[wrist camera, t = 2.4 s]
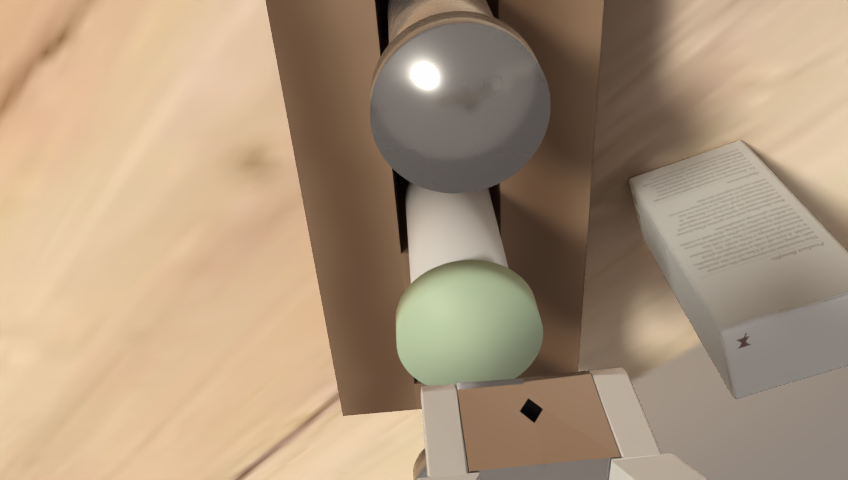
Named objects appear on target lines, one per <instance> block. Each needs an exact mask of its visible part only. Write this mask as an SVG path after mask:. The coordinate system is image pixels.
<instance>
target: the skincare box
mask: <svg viewBox="0 0 848 480" xmlns="http://www.w3.org/2000/svg"><path fill="white" fill-rule="evenodd" d="M629 184H630V188H631V192H632V196H633V201H634V205H635V209H636V213H637V216H638V220H639V224H640V228H641V232H642V237H643V240H644V242H645V243H646V245H647V247H648V249H649V250H650V252H651V254H652V256H653V257H654V259H655V261H656V263H657V265H658V267H659V268H660V270H661V272H662V274H663V275H664V277H665V279H666V280H667V282H668V284H669V286H670V288H671V289H672V291H673V293H674V295H675V296H676V298H677V300H678V302H679V303H680V305H681V307H682V309H683V310H684V312H685V314H686V316H687V317H688V319H689V321H690V323H691V324H692V326H693V328H694V330H695V331H696V333H697V335H698V337H699V339H700V340H701V342H702V344H703V346H704V347H705V349H706V351H707V353H708V354H709V356H710V358H711V360H712V361H713V363H714V365H715V366H716V368H717V370H718V372H719V373H720V375H721V377H722V379H723V381H724V383H725V384H726V386H727V388H728V390H729V391H730V393H731V395H732V396H733V397H734V398H735V399H739V398H742V397H745V396H748V395H752V394H755V393H758V392H761V391H764V390H767V389H770V388H774V387H777V386H781V385H784V384H787V383H790V382H794V381H797V380H801V379H804V378H808V377H811V376H814V375H818V374H821V373H824V372H828V371H831V370H834V369H838V368H841V367H844V366H848V251H847V250H846V249H845V248H844V247H843V246H842V245H841V244H840V243H839V242H838V241H837V240H836V239H835V238H834V237H833V236H832V235H831V233H830V232H829V231H828V230H827V229H826V228H825V227H824V226H823V225H822V224H821V223H820V222H819V221H818V220H817V219H816V218H815V217H814V216H813V214H812V213H811V212H810V211H809V210H808V209H807V208H806V207H805V206H804V205H803V204H802V203H801V202H800V201H799V200H798V199H797V198H796V197H795V195H794V194H793V193H792V192H791V191H790V190H789V189H788V188H787V187H786V186H785V185H784V184H783V183H782V182H781V181H780V180H779V178H778V177H777V176H776V175H775V174H774V173H773V172H772V171H771V170H770V169H769V168H768V167H767V166H766V165H765V164H764V163H763V162H762V160H761V159H760V158H759V157H758V156H757V155H756V154H755V153H754V152H753V151H752V150H751V149H750V148H749V147H748V146H747V145H746V144H745V143H744V142H743V141H741V140H738V141H735V142H733V143H730V144H727V145H724V146H721V147H719V148H716V149H713V150H710V151H707V152H704V153H701V154H698V155H696V156H693V157H690V158H687V159H684V160H681V161H679V162H676V163H673V164H670V165H667V166H664V167H661V168H658V169H655V170H652V171H650V172H647V173H644V174H641V175H638V176H635V177H632V178H630V179H629Z"/></svg>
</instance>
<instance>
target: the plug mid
mask: <svg viewBox="0 0 848 480" xmlns="http://www.w3.org/2000/svg"><path fill="white" fill-rule="evenodd" d="M405 203H406V218H407V233H408V248H409V263H410V278H411V284H410V285H409V286H408V288H407V289H406V290H405V292H404V293H403V295H402V296H401V298H400V301H399V303H398V306H397V310H396V342H397V351H398V355H399V358H400V360H401V362H402V364H403V366H404V367H405V368H406V370H407V371H408V372H409V373H410V374H411V375H412V376H413V377H414V378H416V379H417V380H418V381H420V382H421V383H423V384H425V385H427V386H430V385H445V384H455V386H456V383H463V382H477V381H491V380H505V379H515V378H516V377H518V376H519V375H521V374H522V373H523V372H524V371H525V370H526V369H527V368H528V367H529V366H530V365H531V364H532V363H533V361H534V360H535V358H536V357H537V355H538V353H539V351H540V348H541V345H542V340H543V326H542V322H541V318H540V314H539V311H538V308H537V304H536V301H535V297H534V295H533V292H532V290H531V289H530V287H529V285H528V284H527V283H526V282H525V280H524V279H523V278H522V277H520V276H519V275H518V274H517V273H515V272H514V271H512V270H511V269H509V268H508V264H507V260H506V256H505V252H504V248H503V244H502V240H501V237H500V233H499V229H498V225H497V221H496V217H495V213H494V209H493V205H492V201H491V197H490V193H489V190H488V188H487V189H483V190H479V191H475V192H469V193H455V194H452V193H441V192H436V191H431V190H428V189H425V188H422V187H420V186H418V185H415V184H413V183H411V182H410V181H409V183H408V186H407V189H406V194H405Z"/></svg>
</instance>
